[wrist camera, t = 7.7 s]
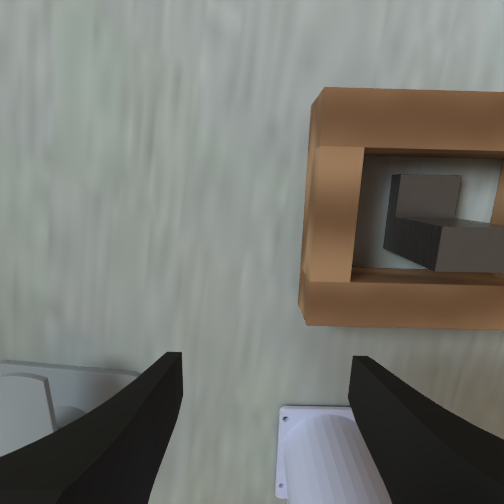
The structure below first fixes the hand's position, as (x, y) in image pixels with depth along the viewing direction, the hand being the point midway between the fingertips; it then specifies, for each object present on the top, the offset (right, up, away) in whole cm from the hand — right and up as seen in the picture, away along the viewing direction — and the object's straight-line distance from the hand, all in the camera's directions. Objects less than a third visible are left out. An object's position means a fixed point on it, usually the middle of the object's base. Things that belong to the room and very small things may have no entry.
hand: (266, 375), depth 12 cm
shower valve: (-16, -9, +13) cm, 22 cm away
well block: (+11, +8, +8) cm, 16 cm away
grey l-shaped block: (+11, +8, +8) cm, 16 cm away
